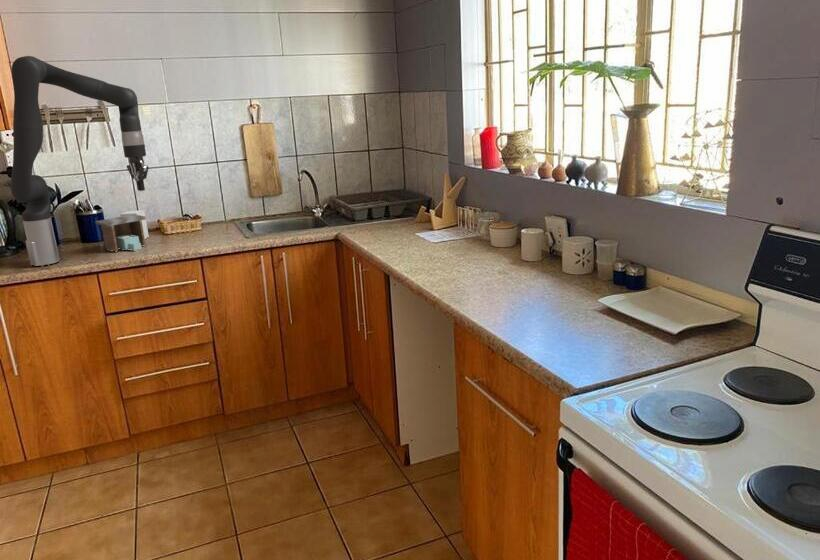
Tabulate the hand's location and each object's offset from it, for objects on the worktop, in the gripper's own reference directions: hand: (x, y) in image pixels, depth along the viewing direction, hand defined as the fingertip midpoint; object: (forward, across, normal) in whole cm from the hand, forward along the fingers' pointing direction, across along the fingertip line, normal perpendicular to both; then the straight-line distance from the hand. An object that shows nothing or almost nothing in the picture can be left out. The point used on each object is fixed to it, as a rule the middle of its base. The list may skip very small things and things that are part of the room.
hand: (141, 190), depth 248 cm
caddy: (+25, +18, 0) cm, 31 cm away
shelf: (+25, +22, 0) cm, 33 cm away
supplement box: (+25, +32, -10) cm, 42 cm away
